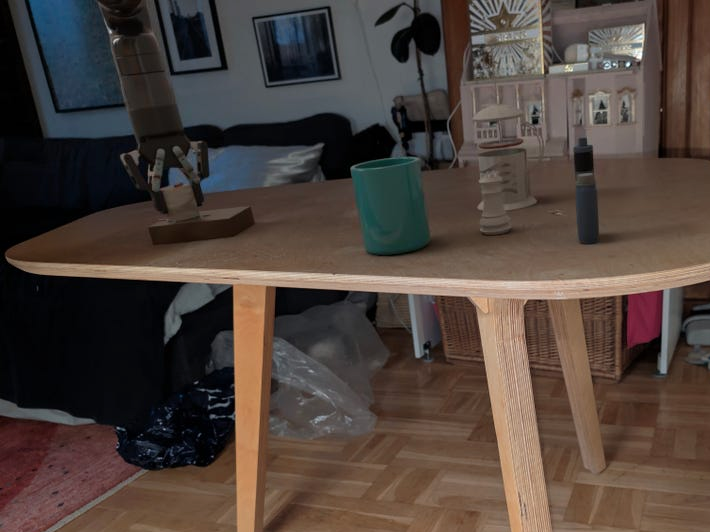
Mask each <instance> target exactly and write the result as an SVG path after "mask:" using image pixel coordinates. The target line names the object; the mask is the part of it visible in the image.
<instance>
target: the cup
mask: <svg viewBox="0 0 710 532" xmlns="http://www.w3.org/2000/svg"><path fill="white" fill-rule="evenodd" d="M349 170H350V175H351V181H352V186H353V191H354V196H355V202H356V207H357V208H356V209H357V213H358V219H359V224H360V231H361V236H362V241H363V246H364V249H365V250H366V252H368V253H369V254H372V255H377V256H392V255H393V256H394V255H400V254H407V253H411V252H414V251H415V252H416V251H417V250H420V249H422V248H424V247H426V246H427V245H429V243H430V242H431V230H430V223H429V216H428V209H427V203H426V195H425V189H424V181H423V175H422V169H421V160H420V158H419V157H417V156H398V157H397V156H396V157H388V158H387V157H386V158H381V159H375V160H374V159H373V160H369V161H364V162H360V163H357V164H354V165H352V166H350V169H349Z"/></svg>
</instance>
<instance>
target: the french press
mask: <svg viewBox="0 0 710 532" xmlns="http://www.w3.org/2000/svg"><path fill="white" fill-rule="evenodd" d="M496 44H498V38H497V36H495V35H487V37H486V38H485V39H484V45H488V46H489V45H490V51H491V63H492V64H491V65H492V72H493V83H494V84H493V85H494V93H495V103H494V104H493V105H491V106H488V107H484V108H483V109H481V110H479V111H478V112H477V113H476V114H475V115H474V116H473V117H472V118H471V120H472V121H473V123H493V122H497V123H498V134H499V139H494V140H487V141H483V142H480V143H479V144H478V148H479V149H482V150H488V151H483V152H481V153H479V154H478V155H477V159H478V161H477V162H478V171H479V177H480V178H481V176H480V174H481V173H484V174H486V172H489V174H492V171H496V172H497V171H499V173H501V174H499V175H500V176H501V178H502V181H501V182H500V189H501V190H502V191H501V199H502V203H503V207H504V210H505V211H513V210H519V209H523V208H527V207H531V206H533V205H534V204H536V203H537V201H538V200H537V199H536V198H535V197H534V196H532V190H531V178H530V177H531V176H530V173H531V171H533V170H534V169H536V168H537V167H538V166H539V165H540V164H541V163H542V160H543V158H544V153H545V139H544V138H543V135H542V133H541V131H540V129H539V128H538V127H537V126H535V125H534V124H532V123H531V122H529V121H525V122H523V123H521V125H520V132H521V133H522V134H524V133H526V131H527V130H526V129H527V128H529V129H530V130H532V131H533V133H534V134H535V136H536V138H537V141H538V146H539V153H538V154H539V155H538V157H537V161H536V163H535V164H534V165H533V166H532V167H531V168H529V164H528V154H527V153H528V152H527V149H526V148H522V147H521V148H520V147H517V146H520V145H522V144H523V143H524V141H525V140H524V139H523V138H521V137H516V138H505V139H504V138H502V133H501V124H500V123H501V122H502V121H508V120H514V119H518V118H523V116H524V115H525V111H524V110H522V109H520V108H518V107H515V106H513V105H509V104H501V103H500V102H498V93H497V83H496V82H497V81H496V73H495V72H496V71H495V61H494V51H493V50H494V49H493V45H496ZM515 147H516V148H515ZM499 164H501V165H500V166H498V167H495V168H492V167H493V166H495V165H499ZM511 165H512V166H513V165H514V167H509V166H511ZM510 174H515V175H510ZM480 178H479V179H480ZM510 182H515V183H510ZM480 189H481V192H482V191H483V188H482V185H481V184H480ZM481 197H482V200H481V202H480V203H479V204H478V205H477V207H476V209H478V210H479V211H483V205H484V199H483V194H482V193H481Z"/></svg>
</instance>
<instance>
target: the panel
mask: <svg viewBox="0 0 710 532" xmlns="http://www.w3.org/2000/svg"><path fill="white" fill-rule="evenodd" d="M199 214H200V215H199V216H197V217H195V218H191V219H187V220H181V221H168V219H167V217H166V218H161V219H160V218H159V219H157V222H155V223H153V224H151V225H149V226H148V227H147V229H148V233H149V236H150V239H151V242H152V245H153V246H154V245H164V244H174V243H183V242H193V241H203V240H214V239H221V238H222V239H225V238H232V237H235V236H237V235H239V234H240V233H242V232H243V231H244V230H246V229H248V228H249V227H251V226H253V225H254V224H255V218H254V215H253V211H252V206H251V205H248V206H238V207H237V206H236V207H229V208H220V209H219V208H218V209H211V210H210V209H209V210H199Z"/></svg>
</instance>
